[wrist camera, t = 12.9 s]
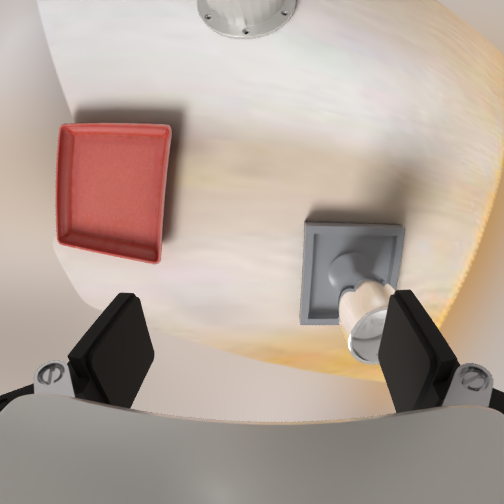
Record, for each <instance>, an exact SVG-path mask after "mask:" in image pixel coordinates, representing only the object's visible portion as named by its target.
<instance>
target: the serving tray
mask: <svg viewBox="0 0 504 504" xmlns="http://www.w3.org/2000/svg"><path fill="white" fill-rule="evenodd" d="M404 234H405V228H403V227H402V226H401V225H399V224H377V223H350V222H315V221H305V223H304V249H303V269H302V287H301V302H300V325H339V320H338V316H337V292H336V291H335V290H334V288H333V287H332V286H331V284H330V281H329V269H330V266H331V264H332V262H333V261H334V260H335V259H336V258H337V257H338V256H340V255H342V254H344V253H347V252H358V253H361V254H363V255H364V256H366V257H367V258H368V260H369V261H370V263H371V265H372V269H373V272H374V273H375V274H377V275H378V276H380V277H381V278H383V279H384V280H385V281H386V282H387V283H389V284H390V285H391V286H392V287H393V288H394V290H396V285H397V279H398V274H399V268H400V262H401V255H402V249H403V241H404Z"/></svg>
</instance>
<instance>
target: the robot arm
mask: <svg viewBox="0 0 504 504" xmlns="http://www.w3.org/2000/svg"><path fill="white" fill-rule="evenodd" d="M295 6H296V0H197V9H198V12H199V15H200V17H201V18H202V20H203V21H204V22H205V24H206V25H207V26H208V27H209V28H211V29H212V30H213V31H215V32H217V33H219V34H221V35H224V36H227V37H230V38H237V39H251V38H258V37H261V36H265V35H268V34H270V33H272V32H274V31H276V30H278V29H279V28H281V27H282V26H283V25H284V24H285V23H286V22H287V21H288V20H289V19H290V17H291V16H292V14H293V12H294V9H295ZM283 14H286V16H284V15H283ZM208 18H210V19H208ZM246 32H248V34H245V33H246ZM68 358H69V362H68V363H67V364H66V363H65V362H63V361H60V360H53V361H49V362H47V363H44V364H43V365H41V366H40V367H39V368H38V369H37V370H36V372H35V374H34V384H31V385H28V386H25V387H23V388H20V389H17V390H14V391H12V392H9V393H6V394H3V395H1V396H0V504H504V392H501V391H499V390H496V389H494V388H493V378H492V375H491V374H490V372H489V371H488V370H487V369H486V368H484V367H483V366H480V365H478V364H474V363H467V364H463V365H461V366H460V364H459V362H458V361H457V358H456V356H455V354H454V353H453V351H452V350H451V348H450V347H449V345H448V343H447V342H446V340H445V339H444V337H443V336H442V334H441V333H440V331H439V330H438V328H437V327H436V325H435V324H434V322H433V321H432V319H431V318H430V316H429V315H428V313H427V312H426V310H425V309H424V308H423V306H422V305H421V303H420V302H419V301H418V299H417V298H416V296H415V295H414V294H413V292H412V291H411V290H396V291H395V293H394V294H393V295H390V298H389V303H388V309H387V314H386V319H385V324H384V328H383V333H382V337H381V342H380V346H379V350H378V360H379V363H380V366H381V368H382V371H383V374H384V377H385V380H386V383H387V386H388V388H389V391H390V394H391V397H392V400H393V403H394V406H395V410H396V413H394V414H387V415H379V416H370V417H361V418H351V419H340V420H325V421H303V422H250V421H227V420H213V419H202V418H192V417H182V416H174V415H166V414H159V413H153V412H146V411H140V410H135V409H130V408H131V406H132V404H133V401H134V399H135V397H136V395H137V393H138V391H139V389H140V387H141V384H142V383H143V380H144V378H145V376H146V374H147V372H148V370H149V368H150V366H151V364H152V362H153V360H154V350H153V346H152V343H151V339H150V336H149V332H148V328H147V325H146V321H145V317H144V314H143V310H142V306H141V302H140V299H139V298H138V297H136V296H135V294H134V293H119V294H118V295H117V296H116V297H115V299H114V300H113V301H112V302H111V303H110V304H109V306H108V307H107V308H106V309H105V310H104V311H103V313H102V314H101V315H100V316H99V317H98V319H97V320H96V321H95V322H94V324H93V325H92V326H91V327H90V329H89V330H88V331H87V332H86V333H85V335H84V336H83V337H82V338H81V340H80V341H79V342H78V343H77V344H76V346H75V347H74V348H73V349H72V351H71V352H70V353H69V355H68Z"/></svg>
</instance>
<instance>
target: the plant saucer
mask: <svg viewBox="0 0 504 504" xmlns="http://www.w3.org/2000/svg"><path fill="white" fill-rule="evenodd" d="M171 137H172V129H171V127H170V126H169V125H166V124H144V123H70V124H63V125H61V127H60V128H59V135H58V148H57V163H56V232H57V241H58V243H59V244H61V245H64V246H69V247H73V248H78V249H82V250H87V251H91V252H96V253H101V254H106V255H111V256H115V257H120V258H125V259H131V260H136V261H141V262H145V263H151V264H158V263H159V262H160V261H161V250H162V230H163V214H164V201H165V190H166V180H167V170H168V160H169V152H170V145H171Z"/></svg>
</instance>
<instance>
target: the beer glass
mask: <svg viewBox="0 0 504 504" xmlns="http://www.w3.org/2000/svg"><path fill="white" fill-rule="evenodd" d="M329 281H330V284H331V286H332V287H333V288H334V290H335V291H336V292H337V316H338V320H339V325H340V328H341V331H342V333H343V336H344V338H345V341H346V343H347V345H348V347H349V351H350V353H351V354H352V356H353V357H354V358H355V359H356V360H358V361H360V362H362V363H365V364H380V363H379V360H378V350H379V346H380V342H381V337H382V333H383V328H384V324H385V319H386V314H387V309H388V303H389V298H390V295H393V294H394V293H395V290H394V288H393V287H392V286H391V285H390V284H389V283H387V282H386V281H385V280H384V279H383V278H381V277H380V276H378V275H377V274H375V273H374V272H373V269H372V265H371V263H370V261H369V260H368V258H367V257H366V256H364V255H363V254H361V253H358V252H347V253H344V254H342V255H340V256H338V257H337V258H336V259H335V260H334V261H333V262H332V264H331V266H330V269H329Z"/></svg>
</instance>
